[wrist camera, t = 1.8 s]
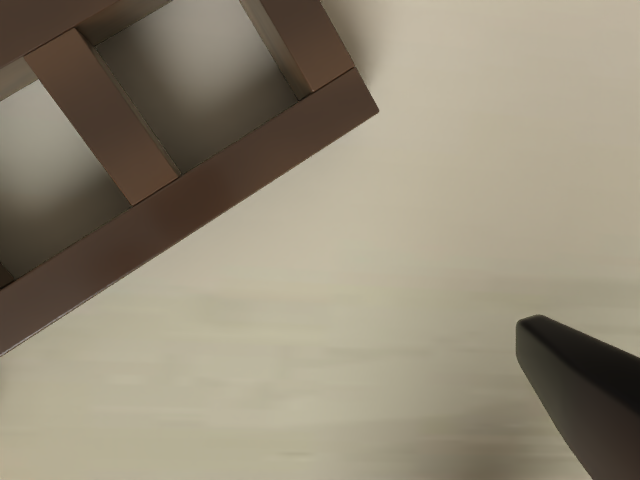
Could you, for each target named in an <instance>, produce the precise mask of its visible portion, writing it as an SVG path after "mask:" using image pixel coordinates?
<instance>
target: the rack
mask: <svg viewBox="0 0 640 480" xmlns="http://www.w3.org/2000/svg"><path fill="white" fill-rule="evenodd" d="M171 1H173V0H0V101H1V100H3V99H5V98H7V97H8V96H10V95H12V94H13V93H15V92H17V91H19V90H20V89H22V88H24V87H25V86H27V85H29V84H31V83H32V82H34V81H36V80H37V79H39V80H40V81H41V83H42V84H43V86H44V87H45V88H46V90H47V91H48V92H49V94H50V95H51V96H52V98H53V99H54V101H55V102H56V103H57V105H58V106H59V107H60V109H61V110H62V111H63V113H64V114H65V116H66V117H67V118H68V120H69V121H70V122H71V124H72V125H73V126H74V128H75V129H76V131H77V132H78V133H79V135H80V136H81V137H82V139H83V140H84V141H85V143H86V144H87V145H88V147H89V148H90V150H91V151H92V152H93V154H94V155H95V156H96V158H97V159H98V160H99V162H100V163H101V165H102V166H103V167H104V169H105V170H106V171H107V173H108V174H109V175H110V177H111V178H112V180H113V181H114V182H115V184H116V185H117V186H118V188H119V189H120V190H121V192H122V193H123V195H124V196H125V197H126V199H127V200H128V201H129V203H130V204H131V205H132V207H131V208H129V209H128V210H126V211H124V212H123V213H121V214H120V215H118V216H117V217H115V218H113V219H112V220H110V221H109V222H107V223H105V224H104V225H102V226H101V227H99V228H97V229H96V230H94V231H93V232H91V233H90V234H88V235H86V236H85V237H83V238H82V239H80V240H78V241H77V242H75V243H74V244H72V245H70V246H69V247H67V248H66V249H64V250H63V251H61V252H59V253H58V254H56V255H55V256H53V257H51V258H50V259H48V260H47V261H45V262H43V263H42V264H40V265H39V266H37V267H36V268H34V269H32V270H31V271H29V272H28V273H26V274H24V275H23V276H21V277H20V278H18V279H16V280H15V279H14V278H13V277H12V276H11V274H10V273H9V272H8V271H7V270H6V268H5V267H4V266H3V265H2V264H1V263H0V357H1V356H3V355H5V354H6V353H8V352H9V351H11V350H12V349H14V348H15V347H17V346H18V345H20V344H22V343H23V342H25V341H26V340H28V339H29V338H31V337H32V336H34V335H35V334H37V333H39V332H40V331H42V330H43V329H45V328H46V327H48V326H49V325H51V324H52V323H54V322H56V321H57V320H59V319H60V318H62V317H63V316H65V315H66V314H68V313H69V312H71V311H73V310H74V309H76V308H77V307H79V306H80V305H82V304H83V303H85V302H86V301H88V300H90V299H91V298H93V297H94V296H96V295H97V294H99V293H100V292H102V291H104V290H105V289H107V288H108V287H110V286H111V285H113V284H114V283H116V282H117V281H119V280H121V279H122V278H124V277H125V276H127V275H128V274H130V273H131V272H133V271H134V270H136V269H138V268H139V267H141V266H142V265H144V264H145V263H147V262H148V261H150V260H151V259H153V258H155V257H156V256H158V255H159V254H161V253H162V252H164V251H165V250H167V249H168V248H170V247H172V246H173V245H175V244H176V243H178V242H179V241H181V240H182V239H184V238H185V237H187V236H189V235H190V234H192V233H193V232H195V231H196V230H198V229H199V228H201V227H203V226H204V225H206V224H207V223H209V222H210V221H212V220H213V219H215V218H216V217H218V216H220V215H221V214H223V213H224V212H226V211H227V210H229V209H230V208H232V207H233V206H235V205H237V204H238V203H240V202H241V201H243V200H244V199H246V198H247V197H249V196H250V195H252V194H254V193H255V192H257V191H258V190H260V189H261V188H263V187H264V186H266V185H267V184H269V183H271V182H272V181H274V180H275V179H277V178H278V177H280V176H281V175H283V174H284V173H286V172H288V171H289V170H291V169H292V168H294V167H295V166H297V165H298V164H300V163H302V162H303V161H305V160H306V159H308V158H309V157H311V156H312V155H314V154H315V153H317V152H319V151H320V150H322V149H323V148H325V147H326V146H328V145H329V144H331V143H332V142H334V141H336V140H337V139H339V138H340V137H342V136H343V135H345V134H346V133H348V132H349V131H351V130H353V129H354V128H356V127H357V126H359V125H360V124H362V123H363V122H365V121H366V120H368V119H370V118H371V117H373V116H374V115H376V114H377V113H378V112H379V109H378V107H377V105H376V103H375V101H374V99H373V98H372V96H371V94H370V92H369V90H368V88H367V87H366V85H365V83H364V81H363V79H362V78H361V76H360V74H359V72H358V70H357V68H355V67H354V66H355V64H354V63H353V61H352V59H351V57H350V55H349V53H348V52H347V50H346V48H345V46H344V44H343V42H342V41H341V39H340V37H339V35H338V33H337V31H336V30H335V28H334V26H333V24H332V22H331V21H330V19H329V17H328V15H327V13H326V11H325V10H324V8H323V6H322V4H321V2H320V0H239V1H240V3H241V5H242V6H243V8H244V10H245V11H246V13H247V15H248V16H249V18H250V20H251V21H252V23H253V25H254V27H255V28H256V30H257V32H258V33H259V35H260V37H261V38H262V40H263V42H264V43H265V45H266V47H267V48H268V50H269V52H270V54H271V55H272V57H273V59H274V60H275V62H276V64H277V65H278V67H279V69H280V70H281V72H282V74H283V76H284V77H285V79H286V81H287V82H288V84H289V86H290V87H291V89H292V91H293V92H294V94H295V96H296V97H297V99H298V101H299V102H298V103H296V104H294V105H293V106H291V107H290V108H288V109H286V110H285V111H283V112H282V113H280V114H278V115H277V116H275V117H274V118H272V119H271V120H269V121H267V122H266V123H264V124H263V125H261V126H259V127H258V128H256V129H255V130H253V131H251V132H250V133H248V134H247V135H245V136H244V137H242V138H240V139H239V140H237V141H236V142H234V143H232V144H231V145H229V146H228V147H226V148H224V149H223V150H221V151H220V152H218V153H217V154H215V155H213V156H212V157H210V158H209V159H207V160H205V161H204V162H202V163H201V164H199V165H197V166H196V167H194V168H193V169H191V170H190V171H188V172H186V173H185V174H183V175H182V174H181V172H180V171H179V169H178V168H177V166H176V165H175V163H174V162H173V160H172V159H171V158H170V156H169V155H168V153H167V152H166V150H165V149H164V147H163V146H162V145H161V143H160V142H159V140H158V139H157V137H156V136H155V134H154V133H153V131H152V130H151V129H150V127H149V126H148V124H147V123H146V121H145V120H144V118H143V117H142V116H141V114H140V113H139V111H138V110H137V108H136V107H135V105H134V104H133V102H132V101H131V100H130V98H129V97H128V95H127V94H126V92H125V91H124V89H123V88H122V87H121V85H120V84H119V82H118V81H117V79H116V78H115V76H114V75H113V73H112V72H111V71H110V69H109V68H108V66H107V65H106V63H105V62H104V60H103V59H102V58H101V56H100V55H99V53H98V52H97V50H96V49H95V48H94V46H96V45H97V44H99V43H101V42H103V41H104V40H106V39H108V38H109V37H111V36H113V35H115V34H116V33H118V32H120V31H121V30H123V29H125V28H127V27H128V26H130V25H132V24H133V23H135V22H137V21H139V20H140V19H142V18H144V17H145V16H147V15H149V14H151V13H152V12H154V11H156V10H157V9H159V8H161V7H163V6H164V5H166V4H168V3H169V2H171Z"/></svg>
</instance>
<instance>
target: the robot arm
mask: <svg viewBox="0 0 640 480" xmlns="http://www.w3.org/2000/svg"><path fill="white" fill-rule="evenodd" d="M516 356H517V360H518V362H519V365H520V367H521V368H522V370H523V372H524V373H525V375H526V377H527V378H528V380H529V382H530V384H531V385H532V387H533V389H534V390H535V392H536V394H537V395H538V397H539V399H540V400H541V402H542V404H543V406H544V407H545V409H546V411H547V412H548V414H549V416H550V417H551V419H552V421H553V422H554V424H555V426H556V428H557V429H558V431H559V432H560V434H561V436H562V437H563V439H564V440H565V442H566V443H567V445H568V446H569V448H570V449H571V451H572V452H573V453H574V455H575V456H576V457H577V459H578V460H579V462H580V463H581V464H582V466H583V467H584V468H585V470H586V471H587V472H588V474H589V475H590V476H591V478H592V479H593V480H640V358H639V357H637V356H634V355H632V354H630V353H628V352H625V351H623V350H621V349H619V348H616V347H614V346H612V345H609V344H607V343H605V342H603V341H600V340H598V339H596V338H593V337H591V336H589V335H587V334H584V333H582V332H580V331H578V330H575V329H573V328H571V327H568V326H566V325H564V324H562V323H559V322H557V321H555V320H552V319H550V318H548V317H546V316H543V315H534V316H530V317H527V318H524V319H521V320H519V321H518V322H517V324H516Z"/></svg>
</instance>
